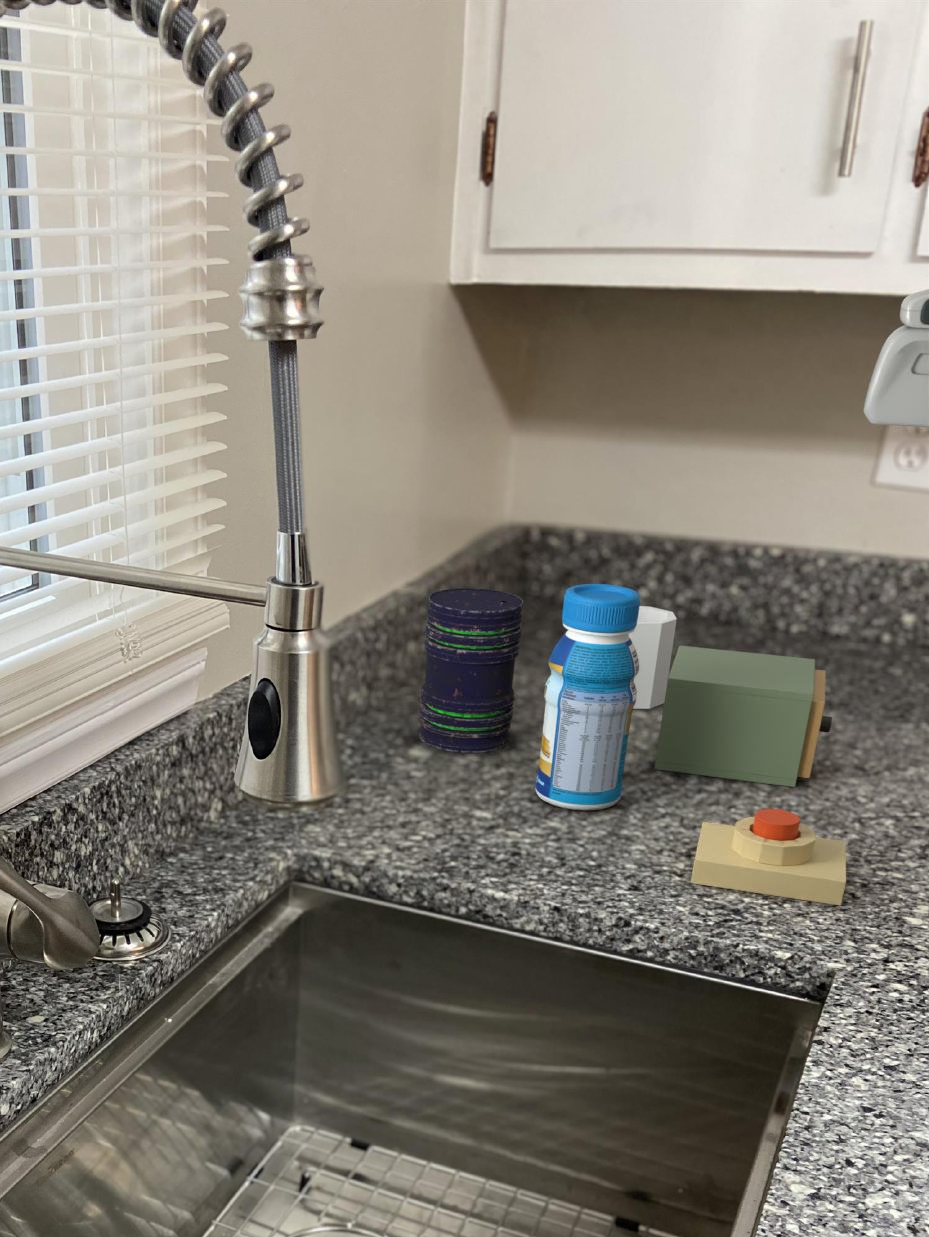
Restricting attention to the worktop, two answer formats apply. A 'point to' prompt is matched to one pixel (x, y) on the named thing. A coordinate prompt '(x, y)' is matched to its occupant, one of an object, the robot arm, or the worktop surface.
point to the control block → (771, 863)
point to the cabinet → (736, 715)
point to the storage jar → (469, 669)
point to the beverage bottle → (589, 699)
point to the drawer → (814, 725)
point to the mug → (653, 654)
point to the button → (776, 825)
